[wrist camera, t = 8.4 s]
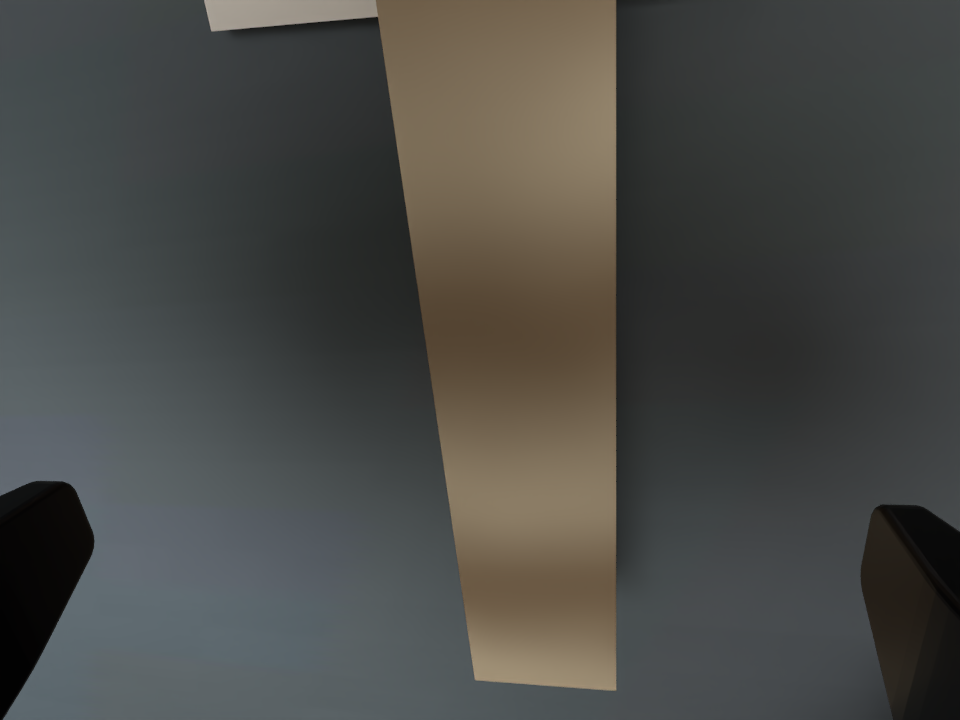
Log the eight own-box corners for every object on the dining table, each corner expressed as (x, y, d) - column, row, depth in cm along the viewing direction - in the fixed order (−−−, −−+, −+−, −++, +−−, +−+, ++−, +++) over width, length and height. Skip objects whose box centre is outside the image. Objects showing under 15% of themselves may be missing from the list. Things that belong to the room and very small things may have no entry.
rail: (615, 568, 22) (615, 720, 18) (496, 563, 22) (469, 709, 18) (615, -360, 12) (615, -508, 8) (398, -323, 12) (290, -441, 8)
